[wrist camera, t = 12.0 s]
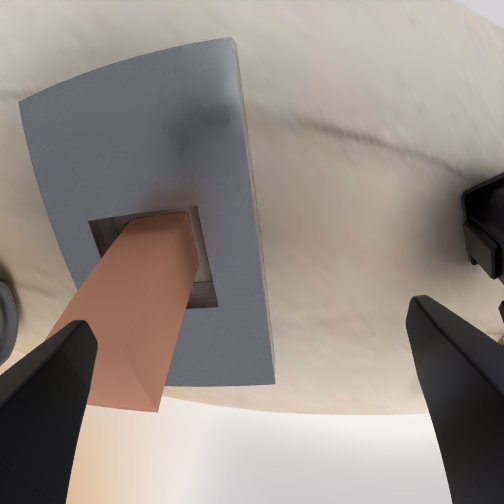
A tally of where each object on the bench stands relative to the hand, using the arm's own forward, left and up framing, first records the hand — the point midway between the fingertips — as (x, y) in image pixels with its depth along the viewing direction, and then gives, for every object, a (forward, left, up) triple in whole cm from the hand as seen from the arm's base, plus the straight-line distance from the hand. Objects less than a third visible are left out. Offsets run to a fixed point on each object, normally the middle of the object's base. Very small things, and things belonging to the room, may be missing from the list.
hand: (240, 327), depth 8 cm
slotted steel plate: (+7, +2, -13) cm, 15 cm away
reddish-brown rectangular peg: (+7, +2, -13) cm, 15 cm away
